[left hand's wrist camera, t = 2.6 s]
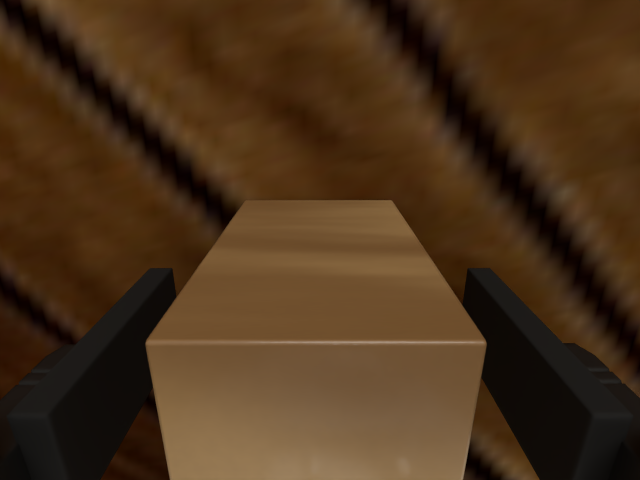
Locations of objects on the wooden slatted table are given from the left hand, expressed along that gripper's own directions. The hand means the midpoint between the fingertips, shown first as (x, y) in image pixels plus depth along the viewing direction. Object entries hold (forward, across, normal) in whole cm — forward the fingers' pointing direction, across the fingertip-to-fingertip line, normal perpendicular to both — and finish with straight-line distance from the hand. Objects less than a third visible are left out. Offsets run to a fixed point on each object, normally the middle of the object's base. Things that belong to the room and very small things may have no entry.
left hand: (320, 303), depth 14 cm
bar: (+1, 0, -9) cm, 10 cm away
